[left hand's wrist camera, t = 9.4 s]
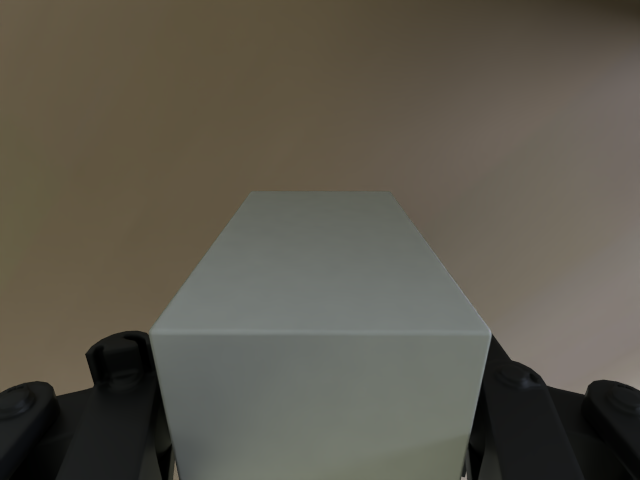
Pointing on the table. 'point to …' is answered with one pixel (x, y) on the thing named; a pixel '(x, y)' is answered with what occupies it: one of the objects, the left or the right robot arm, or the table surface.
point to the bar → (320, 347)
